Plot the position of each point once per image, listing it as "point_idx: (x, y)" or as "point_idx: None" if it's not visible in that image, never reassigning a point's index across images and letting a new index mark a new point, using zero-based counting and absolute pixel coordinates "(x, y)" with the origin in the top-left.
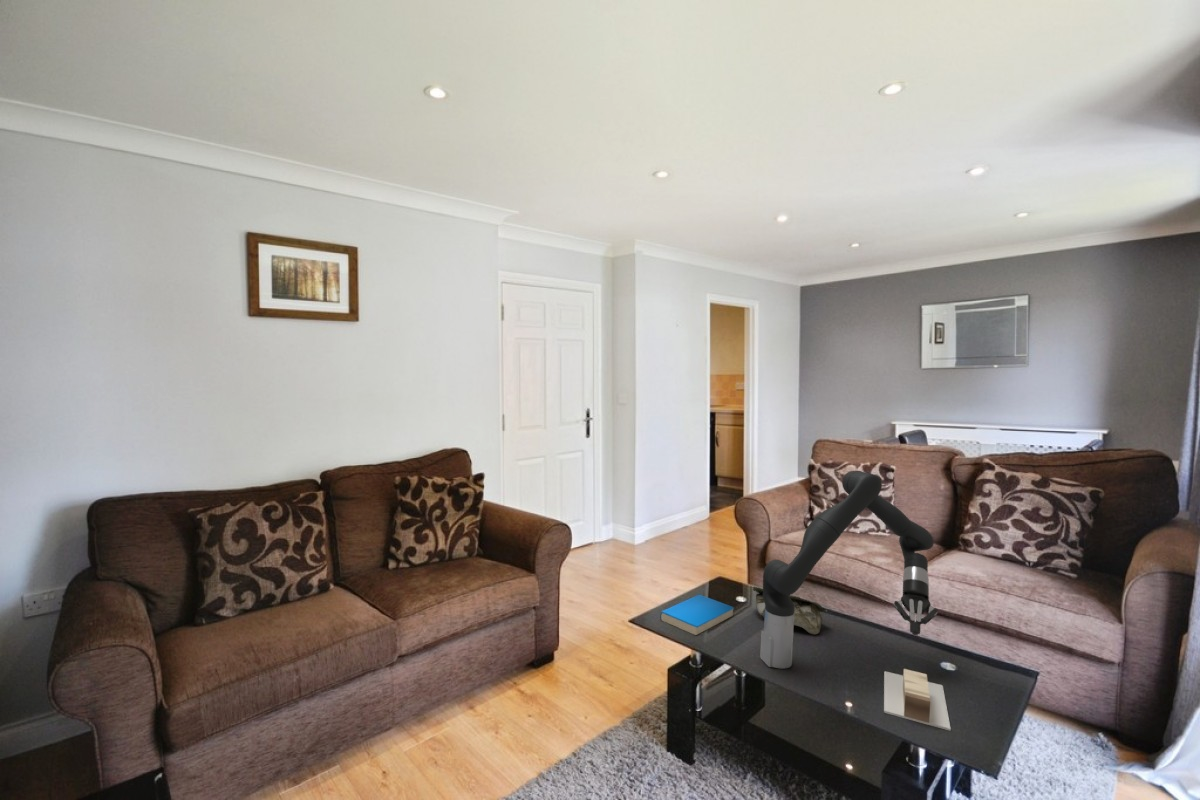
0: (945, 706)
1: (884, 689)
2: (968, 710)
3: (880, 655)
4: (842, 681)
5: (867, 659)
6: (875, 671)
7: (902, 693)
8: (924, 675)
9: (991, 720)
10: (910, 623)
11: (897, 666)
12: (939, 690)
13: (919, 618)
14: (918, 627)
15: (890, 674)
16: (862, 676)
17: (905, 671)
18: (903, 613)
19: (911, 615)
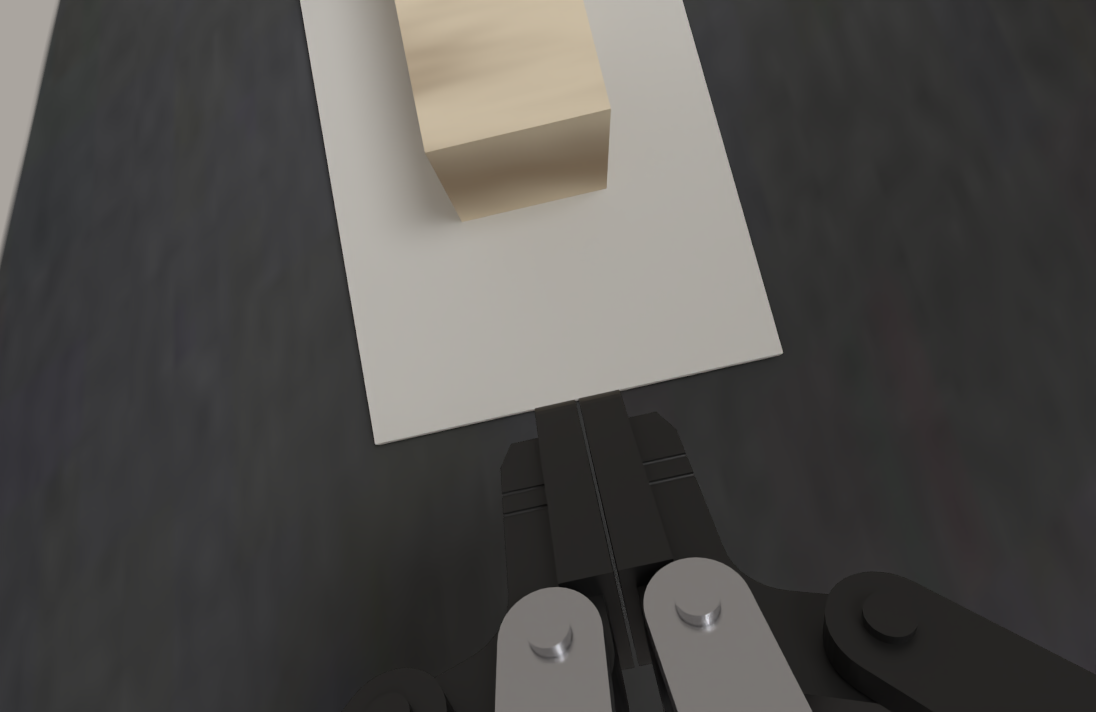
0: (331, 148)
1: (702, 75)
2: (212, 237)
3: None
4: (969, 7)
5: (963, 502)
6: (839, 331)
7: None
8: (437, 116)
9: (92, 215)
10: (707, 519)
11: None
12: (386, 344)
13: (532, 683)
14: (539, 510)
15: (728, 329)
16: (888, 179)
17: (586, 67)
18: (999, 656)
19: (759, 682)
